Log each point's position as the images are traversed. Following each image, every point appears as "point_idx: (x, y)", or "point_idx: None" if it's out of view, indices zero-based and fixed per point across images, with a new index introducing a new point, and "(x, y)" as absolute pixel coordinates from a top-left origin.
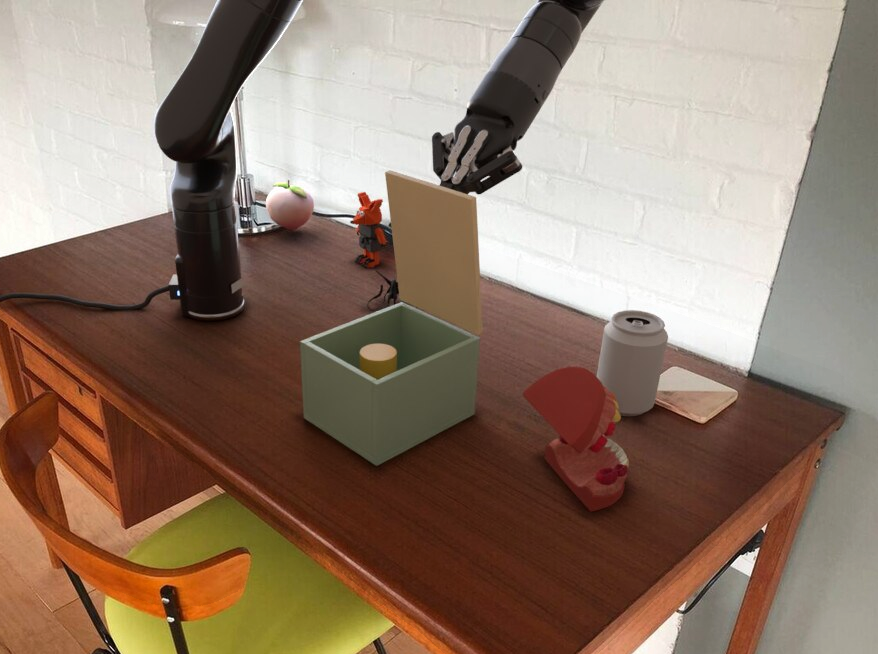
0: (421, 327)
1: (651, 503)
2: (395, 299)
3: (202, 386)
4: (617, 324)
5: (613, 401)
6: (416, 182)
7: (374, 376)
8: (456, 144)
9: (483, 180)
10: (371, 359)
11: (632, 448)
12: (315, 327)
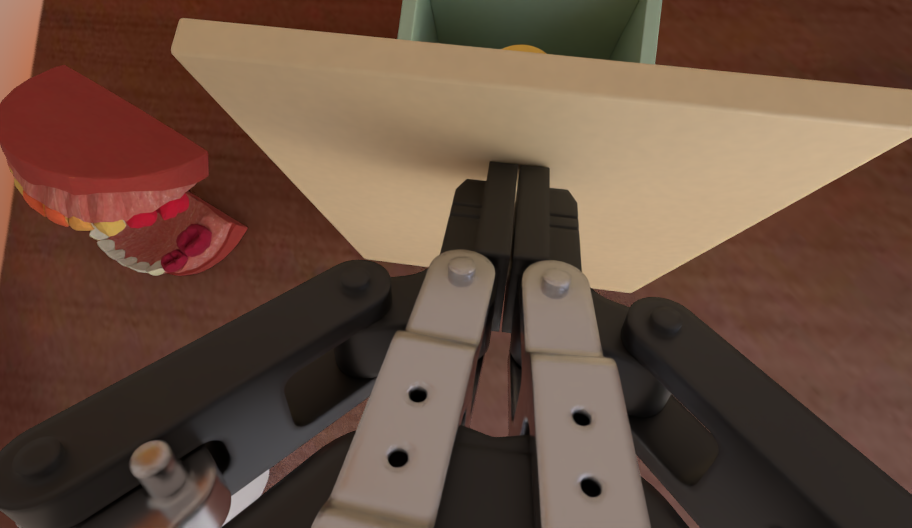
0: None
1: (84, 235)
2: None
3: (837, 11)
4: None
5: (15, 177)
6: (617, 61)
7: None
8: (631, 486)
9: (346, 393)
10: (508, 49)
11: (158, 345)
12: (863, 326)
